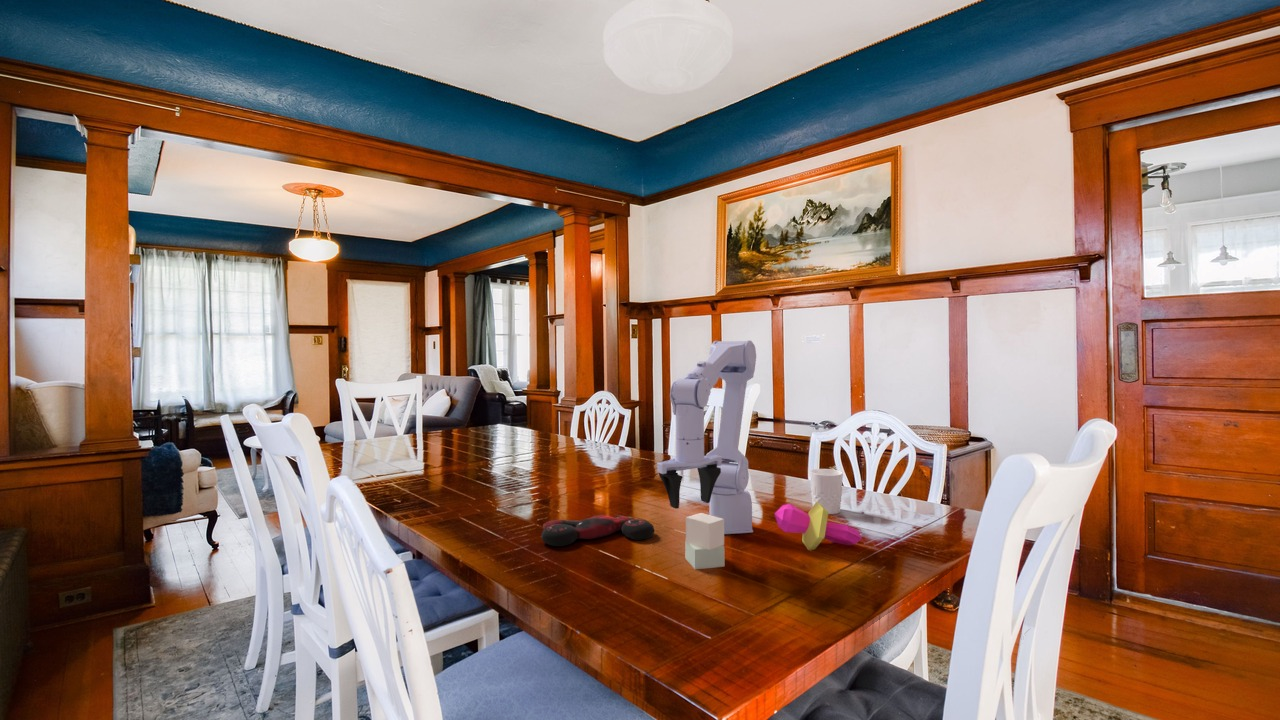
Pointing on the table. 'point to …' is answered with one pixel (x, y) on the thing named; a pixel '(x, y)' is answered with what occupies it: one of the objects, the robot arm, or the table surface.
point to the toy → (814, 526)
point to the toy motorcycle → (594, 529)
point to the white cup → (827, 489)
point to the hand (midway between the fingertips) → (690, 504)
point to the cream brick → (705, 531)
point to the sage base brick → (704, 556)
